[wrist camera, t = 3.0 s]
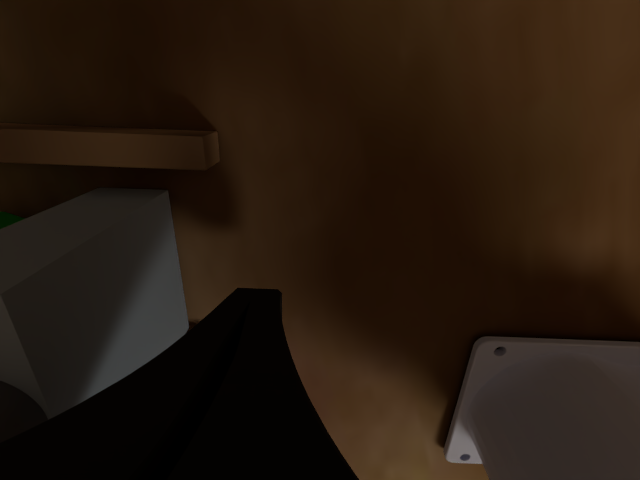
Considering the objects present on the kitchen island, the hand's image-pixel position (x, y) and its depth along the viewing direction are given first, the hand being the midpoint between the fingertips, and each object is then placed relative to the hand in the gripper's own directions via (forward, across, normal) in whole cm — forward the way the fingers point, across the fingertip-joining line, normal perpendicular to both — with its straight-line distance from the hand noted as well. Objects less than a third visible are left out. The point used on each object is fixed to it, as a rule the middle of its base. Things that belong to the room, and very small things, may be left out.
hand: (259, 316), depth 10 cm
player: (+3, +5, 0) cm, 6 cm away
